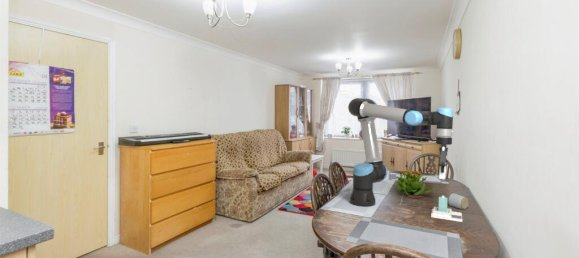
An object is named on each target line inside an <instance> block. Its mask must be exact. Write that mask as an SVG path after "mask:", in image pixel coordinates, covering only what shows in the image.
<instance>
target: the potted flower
mask: <svg viewBox="0 0 579 258" xmlns="http://www.w3.org/2000/svg"><path fill="white" fill-rule="evenodd" d="M398 173H399V176H398V175H397V176H395V178H396V179H397V185H396V184H392V185H393V186H394V187H395V188H396V191H398V192H400V193H404V194H405V196H406V197H408V198H413V199H414V198H415V199H416V198H417V199H418V198H422V195H423V194H430V193H434V192H436V191H435V190H433V189H427V188H428V186H426V183H425V182H424V181H427V178H428V176H426V177H424V175H423V173H422V172H419V171H418V170H415V171H414V170H411V169H410V170H407V171H406V172H405V171H404V170H400V171H398ZM420 179H421V180H420ZM423 182H424V183H423ZM426 189H427V190H426Z"/></svg>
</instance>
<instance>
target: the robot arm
mask: <svg viewBox="0 0 579 258" xmlns="http://www.w3.org/2000/svg"><path fill="white" fill-rule="evenodd" d="M347 109H348V112H349V114H350V115H352V116H354V117H357V121H358V122H359V123H360V128H361V133H362V135H361V136H362V140H363V141H362V143H363V149H364V154H365V160H364V162H363V163H355V165H354V166H353V170H352V174H353V175H352V191H351V194H350V197H349V203H350V204H352V205H355V206H359V207H372V206H375V205H376V197H375V194H374V190H373V188H374V184H375V183H380V182H383V181H384V180H385V179H386V178H387V176H388V172H389V170H388V168H387V166H386V165H385V164H384V162H383V159H382V158H381V157H380V151H379V145H378V138H377V131H376V125H375V124H376V123H375V120H376V119H381V120H387V121H390V122H391V121H392V122H396V123H402V124H405V125H409V126H436V129H435V130H436V134H435V136H436V138H435V143H436V145H441V146H440V147H439V149H438V151H439V157H440V158H439V160H440V161H439V163H438V167H439V173H438V175H439V177H438V178H439V179H440V180H441V179H442V180H446V174H447V173H446V172H447V171H446V170H447V163H448V160H447V156H448V151H449V147H448V145H452V144H453V138H452V137H453V133H455V132H454V130H453V126H454V109H453V108H452V107H438V108H437V109H436V111H421V110H412V109H406V108H399V107H394V106H389V105H388V106H386V105H381V104H377V102H376V101H374V100H373V99H370V98H360V97H358V98H357V97H355V98H353V99H351V100H350V101H349V103H348V107H347Z"/></svg>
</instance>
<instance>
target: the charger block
mask: <svg viewBox="0 0 579 258" xmlns="http://www.w3.org/2000/svg"><path fill="white" fill-rule="evenodd" d="M438 207H439V209H438V211H442V212H447V208H448V197H446V196H445V195H441V196H438Z"/></svg>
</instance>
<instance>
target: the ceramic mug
mask: <svg viewBox="0 0 579 258" xmlns="http://www.w3.org/2000/svg"><path fill="white" fill-rule="evenodd" d="M447 204H448V205H449V206H450V207H453V208H456V209H457V208H458V209H460V210H466V209H467V208H468V207H469V200H468V198H467V197H466V196H463V195H460V194H457V193H455V192H453V193H450V195H449V196H448V199H447Z"/></svg>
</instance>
